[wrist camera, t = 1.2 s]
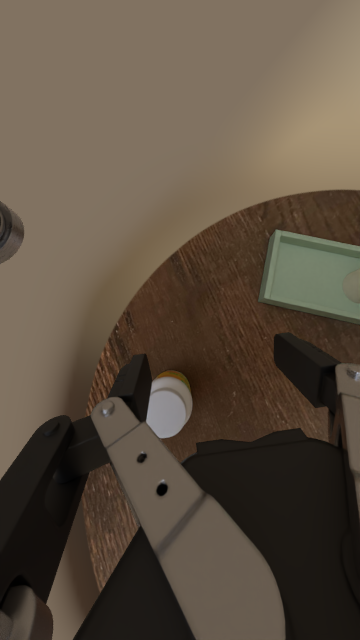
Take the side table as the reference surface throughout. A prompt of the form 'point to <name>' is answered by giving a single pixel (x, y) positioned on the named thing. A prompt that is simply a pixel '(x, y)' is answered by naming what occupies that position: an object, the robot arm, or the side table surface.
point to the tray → (310, 275)
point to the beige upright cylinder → (352, 286)
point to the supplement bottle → (169, 403)
